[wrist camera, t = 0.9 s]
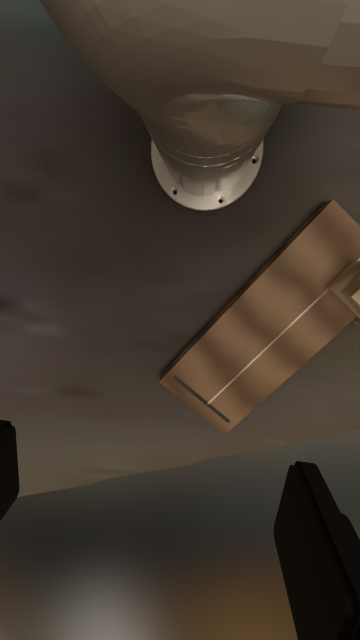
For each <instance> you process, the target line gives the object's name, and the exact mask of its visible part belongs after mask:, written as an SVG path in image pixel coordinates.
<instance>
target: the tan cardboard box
mask: <svg viewBox="0 0 360 640" xmlns="http://www.w3.org/2000/svg"><path fill="white" fill-rule="evenodd" d="M326 288H327V289H328V290H329V291H331V292H332V293H333V294H334V295H335V296H336V297H337V298H338V299H339V300H340V301H341V302H342V303H343V304H344V305H345V306H346V307H347V308H348V309H350V310H351V311H352V312H353V313H354V314H355V315H356V316H357V317H356V318H355V319H354V320H353V321H352V322H353V323H354V324H356V325H358V326H360V262H359V261H352V262H351V263H350V264H349V265H348V266H347V267H346V268H345V269H344V270H343V271H342V272H341V273H340V274H339V275H338V276H337V277H336V278H335V279H334V280H333V281H332V282H331V283H330V284H328V285H327V286H326Z"/></svg>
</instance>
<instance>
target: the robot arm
mask: <svg viewBox="0 0 360 640" xmlns="http://www.w3.org/2000/svg"><path fill="white" fill-rule="evenodd" d="M41 2H42V3H43V5H44V7H45V9H46V10H47V12H48V14H49V15H50V17H51V18H52V20H53V21H54V23H55V24H56V26H57V27H58V29H59V30H60V32H61V33H62V35H63V36H64V38H65V39H66V41H67V42H68V43H69V44H70V46H71V47H72V48H73V50H74V51H75V52H76V53H77V55H78V56H79V57H80V58H81V60H82V61H83V62H84V63H85V64H86V65H87V66H88V67H89V68H90V70H91V71H92V72H93V73H94V74H95V75H96V76H97V77H98V78H99V79H100V80H101V81H102V82H103V83H104V84H105V85H106V86H107V87H108V88H109V89H110V90H111V91H113V92H114V93H115V94H116V95H117V96H118V97H120V98H121V99H122V100H123V101H125V102H126V103H127V104H128V105H130V106H131V107H132V108H133V109H135V110H136V111H137V112H138V113H139V114H140V116H141V118H142V120H143V122H144V124H145V126H146V128H147V130H148V132H149V134H150V136H151V138H152V141H151V160H152V166H153V169H154V172H155V175H156V178H157V180H158V182H159V183H160V185H161V187H162V188H163V190H164V191H165V192H166V193H167V194H168V196H170V197H171V198H172V199H173V200H174V201H175V202H177V203H178V204H180V205H181V206H184V207H186V208H189V209H191V210H197V211H213V210H218V209H221V208H224V207H226V206H228V205H230V204H232V203H233V202H235V201H236V200H238V199H239V198H240V197H241V196H242V195H243V194H244V193H245V192H246V191H247V190H248V188H249V187H250V186H251V185H252V183H253V181H254V179H255V178H256V176H257V174H258V171H259V168H260V166H261V162H262V157H263V148H264V137H265V135H266V134H267V132H268V130H269V129H270V127H271V126H272V124H273V122H274V120H275V119H276V117H277V115H278V113H279V111H280V109H281V107H282V104H285V105H292V104H294V103H297V104H307V105H318V106H328V107H339V108H349V109H360V0H41ZM252 160H255V161H256V163H255V164H253V163H252ZM174 190H176V191H177V194H176V195H174V194H173V191H174ZM219 199H222V200H223V202H222V203H219V202H218V200H219ZM18 493H19V474H18V460H17V445H16V431H15V427H14V426H12V424H11V422H10V421H5V420H0V521H1V519H2V518H3V516H4V515H5V514H6V512H7V511H8V509H9V508H10V507H11V505H12V503H13V502H14V501H15V499H16V498H17V495H18ZM274 539H275V544H276V548H277V552H278V556H279V561H280V565H281V569H282V573H283V578H284V582H285V586H286V590H287V594H288V598H289V603H290V607H291V611H292V615H293V620H294V624H295V628H296V632H297V637H298V640H360V540H359V538H358V536H357V534H356V532H355V530H354V528H353V526H352V525H351V522H350V521H349V519H348V518H347V516H346V515H344V514H342V513H340V511H339V509H338V507H337V505H336V503H335V501H334V499H333V497H332V495H331V493H330V491H329V489H328V487H327V485H326V483H325V481H324V479H323V477H322V475H321V473H320V471H319V469H318V467H317V465H316V464H314V463H307V462H300V461H297V462H296V463H295V465H290V467H289V470H288V473H287V477H286V481H285V485H284V489H283V493H282V497H281V501H280V505H279V509H278V512H277V516H276V520H275V524H274Z"/></svg>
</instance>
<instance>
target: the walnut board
mask: <svg viewBox="0 0 360 640" xmlns="http://www.w3.org/2000/svg"><path fill="white" fill-rule="evenodd" d="M352 261H359V262H360V226H359V225H358V224H357V223H356V222H355V221H354V220H353V219H352V218H351V217H350V216H349V215H348V214H347V213H346V212H345V211H344V210H343V209H342V208H341V207H340V206H339V205H338V204H337V203H336V202H335V201H334V200H330V201H326V202H324V203H323V204H322V205H321V206H320V207H319V208H318V209H317V210H316V211H315V212H314V213H313V214H312V215H311V216H310V218H309V219H308V220H307V221H306V222H305V223H304V224H303V225H302V226H301V227H300V228H299V229H298V230H297V231H296V232H295V233H294V234H293V235H292V236H291V238H290V239H289V240H288V241H287V242H286V243H285V244H284V245H283V246H282V247H281V248H280V249H279V250H278V251H277V252H276V253H275V254H274V255H273V257H272V258H271V259H270V260H269V261H268V262H267V263H266V264H265V265H264V266H263V267H262V268H261V269H260V270H259V271H258V272H257V273H256V274H255V276H254V277H253V278H252V279H251V280H250V281H249V282H248V283H247V284H246V285H245V286H244V287H243V288H242V289H241V290H240V291H239V292H238V293H237V295H236V296H235V297H234V298H233V299H232V300H231V301H230V302H229V303H228V304H227V305H226V306H225V307H224V308H223V309H222V310H221V311H220V312H219V314H218V315H217V316H216V317H215V318H214V319H213V320H212V321H211V322H210V323H209V324H208V325H207V326H206V327H205V328H204V329H203V330H202V331H201V333H200V334H199V335H198V336H197V337H196V338H195V339H194V340H193V341H192V342H191V343H190V344H189V345H188V346H187V347H186V348H185V349H184V350H183V352H182V353H181V354H180V355H179V356H178V357H177V358H176V359H175V360H174V361H173V362H172V363H171V364H170V365H169V366H168V367H167V368H166V369H165V370H164V372H163V373H162V374H161V377H160V380H159V383H161V384H162V385H163V386H164V387H166V388H167V389H168V390H169V391H171V392H172V393H173V394H174V395H176V396H177V397H178V398H179V399H180V400H182V401H183V402H184V403H185V404H187V405H188V406H189V407H190V408H192V409H193V410H194V411H195V412H197V413H198V414H199V415H200V416H201V417H203V418H204V419H205V420H206V421H208V422H209V423H210V424H211V425H213V426H214V427H215V428H216V429H218V430H219V431H220V432H221V433H222V434H224V435H225V434H226V433H227V432H228V431H230V430H231V429H232V428H233V427H234V426H235V425H236V424H237V423H239V422H240V421H241V420H242V419H243V418H244V417H245V416H246V415H247V414H249V413H250V412H251V411H252V410H253V409H254V408H255V407H256V406H258V405H259V404H260V403H261V402H262V401H263V400H264V399H265V398H266V397H268V396H269V395H270V394H271V393H272V392H273V391H274V390H275V389H277V388H278V387H279V386H280V385H281V384H282V383H283V382H284V381H285V380H287V379H288V378H289V377H290V376H291V375H292V374H293V373H294V372H296V371H297V370H298V369H299V368H300V367H301V366H302V365H303V364H304V363H306V362H307V361H308V360H309V359H310V358H311V357H312V356H313V355H315V354H316V353H317V352H318V351H319V350H320V349H321V348H322V347H323V346H325V345H326V344H327V343H328V342H329V341H330V340H331V339H332V338H334V337H335V336H336V335H337V334H338V333H339V332H340V331H341V330H342V329H344V328H345V327H346V326H347V325H348V324H349V323H350V322H351V321H353V320H354V319H355V318H356V317H357V316H356V315H355V314H354V313H353V312H352V311H351V310H350V309H348V308H347V307H346V306H345V305H344V304H343V303H342V302H341V301H340V300H339V299H338V298H337V297H336V296H335V295H334V294H333V293H332V292H331V291H329V290H328V289H327V288H326V286H327V285H328V284H330V283H331V282H332V281H333V280H334V279H335V278H336V277H337V276H338V275H339V274H340V273H341V272H342V271H343V270H344V269H345V268H346V267H347V266H348V265H349V264H350V263H351V262H352Z"/></svg>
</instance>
